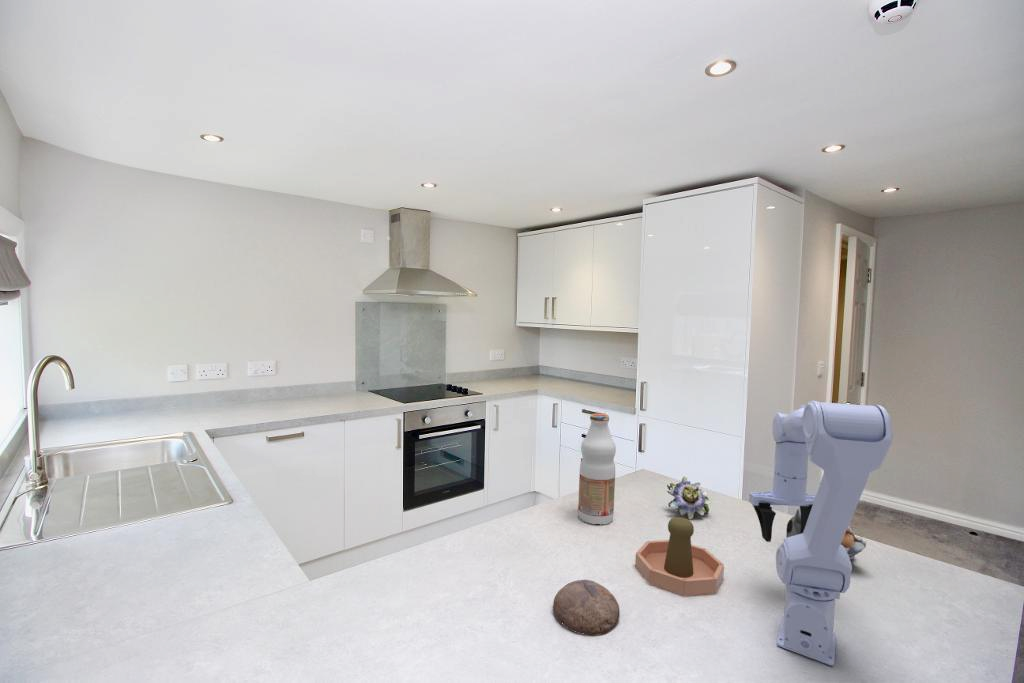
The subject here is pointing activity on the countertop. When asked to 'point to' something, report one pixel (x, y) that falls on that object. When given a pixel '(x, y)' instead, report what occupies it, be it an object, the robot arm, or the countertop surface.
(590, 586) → the decorative stone
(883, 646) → the countertop surface
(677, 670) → the countertop surface
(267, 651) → the countertop surface
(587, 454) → the fruit juice
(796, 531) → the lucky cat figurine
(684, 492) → the passion flower
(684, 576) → the olive knobbed peg
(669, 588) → the octagonal tray
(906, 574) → the countertop surface
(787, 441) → the robot arm
